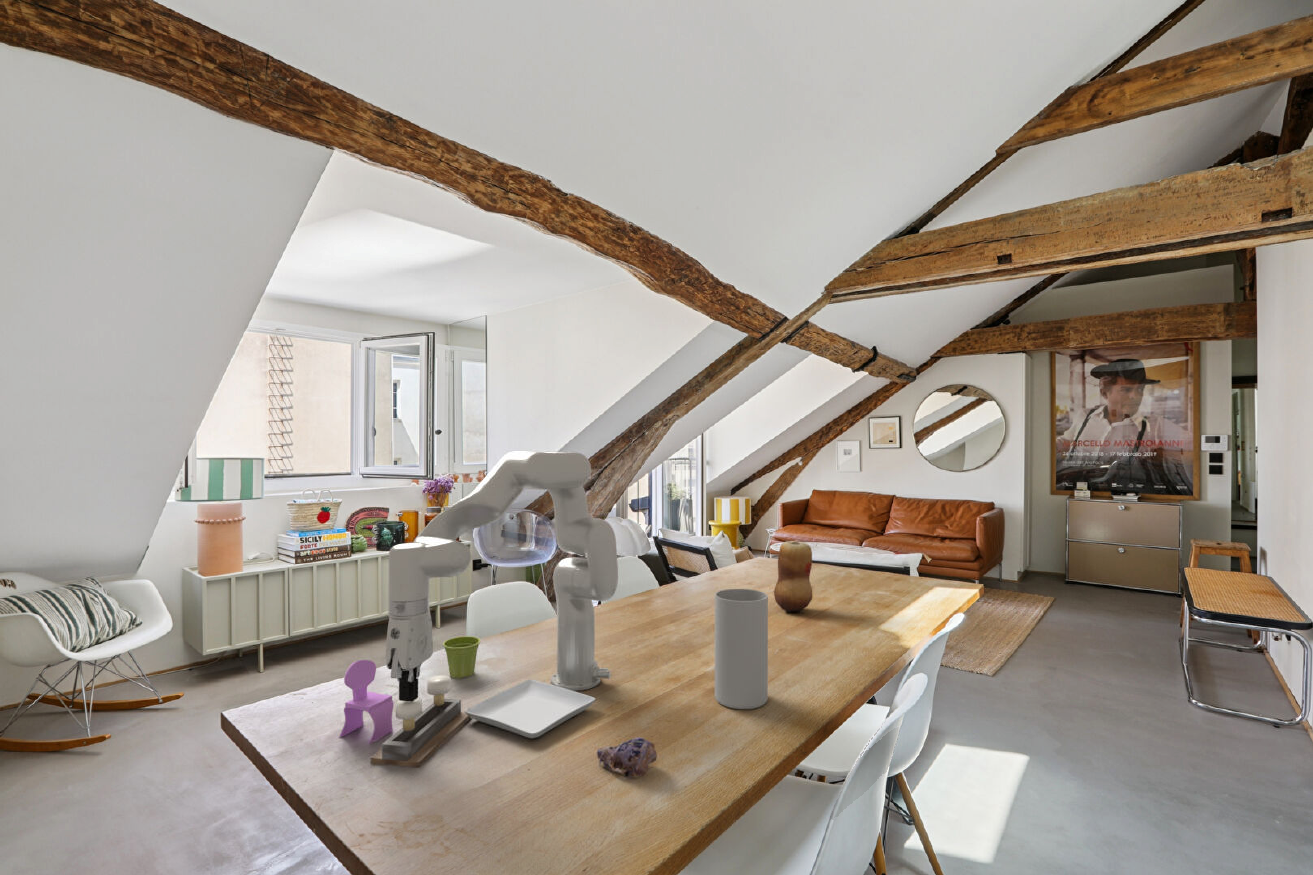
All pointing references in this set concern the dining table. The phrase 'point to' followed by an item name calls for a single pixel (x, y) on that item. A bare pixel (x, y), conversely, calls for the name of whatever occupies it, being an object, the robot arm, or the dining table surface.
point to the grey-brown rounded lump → (628, 757)
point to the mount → (422, 736)
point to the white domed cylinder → (408, 712)
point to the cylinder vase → (741, 648)
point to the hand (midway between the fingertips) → (408, 699)
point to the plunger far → (438, 688)
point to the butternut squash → (794, 576)
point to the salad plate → (530, 708)
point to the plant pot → (461, 655)
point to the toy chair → (366, 701)
